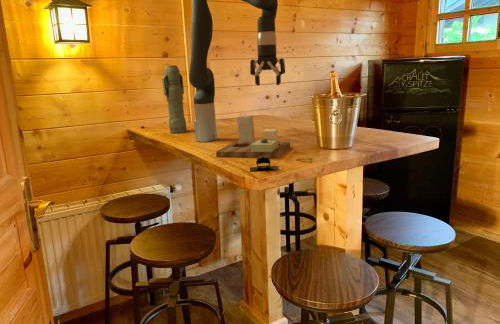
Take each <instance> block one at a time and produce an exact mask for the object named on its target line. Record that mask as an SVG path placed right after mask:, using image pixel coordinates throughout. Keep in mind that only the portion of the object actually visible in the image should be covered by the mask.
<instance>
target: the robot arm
mask: <svg viewBox="0 0 500 324" xmlns="http://www.w3.org/2000/svg"><path fill="white" fill-rule="evenodd" d="M241 1H242V2H244V3H247V4H249V5H250V6H251V7H252V6H253V7H255V8H256V9H259V10H261V16H260V17H258V18H257V24H256V25H257V38H256V39H257V40H256V41H257V42H256V44H257V59H251V60H250V63H249V65H250V66H249V68H250V71H249V72H250V73H249V75H251V76H254V79H255V80H254V83H255V85H256V86H257V87H258V86H260V85H261V80H260V79H261V77H260V74H261V73H262V72H263V71H267V70H268V71H273V72H274V73H275V77H276V80H275V82H276V83H275V84H276V86H279V85H280V84H281V83H282V75H283V74H285V73H286V63H285V58H278V57H277V36H276V17H277V12H278V8H279V7H278V3H279V1H278V0H240V2H241ZM213 20H214V19H213V16H212V13H211V10H210V8H209V5H208V1H207V0H191V22H190V23H191V24H190V25H191V26H190V27H191V28H190V30H191V31H190V39H191V41H190V42H191V43H190V51H191V52H190V62H189V63H190V65H189V71H188V79H189V84H190V85H191V86H192V87H193V88H195V95H194V97H193V106H194V107H193V108H194V117H195V118H194V119H195V120H193V124H194V125H193V127H194V134H195V141H196V142H201V143H202V142H204V143H206V142H207V143H208V142H214V141H216V140H218V131H217V120H216V119H217V118H216V108H215V107H216V106H215V96H216V87H215V86H216V84H215V76H214V73H213V71H212V69H210V67H208V53H209V50H210V47H211V43H212V41H213V40H212V39H213V28H214V27H213V26H214V22H213ZM277 64H278V65H279V67H280V69H279V68H278V66H277ZM256 65H258V67H257V69H256Z"/></svg>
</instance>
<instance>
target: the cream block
mask: <svg viewBox="0 0 500 324" xmlns="http://www.w3.org/2000/svg"><path fill="white" fill-rule="evenodd" d="M278 135H279V134H278V128H266V129H264V130H263V131H262V139H267V140H273V141H277V147H278V142H279V139H278V138H279V137H278Z"/></svg>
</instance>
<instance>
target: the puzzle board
mask: <svg viewBox="0 0 500 324" xmlns="http://www.w3.org/2000/svg"><path fill="white" fill-rule="evenodd" d="M253 143H254V142H239V141H232V142H230V143H229V144H227V145H225V146H223V147H222V148H220V149H218V150H217V151H215V154H216V158H246V159H247V158H253V159H257V156H269V159H280V158H281V157H282V155H284V154H285V153H286V152H287V150H289V149H290V148H291V142H290V141H278V147H277V148H276V149H275V150H274V151H273V152H251V144H253Z"/></svg>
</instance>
